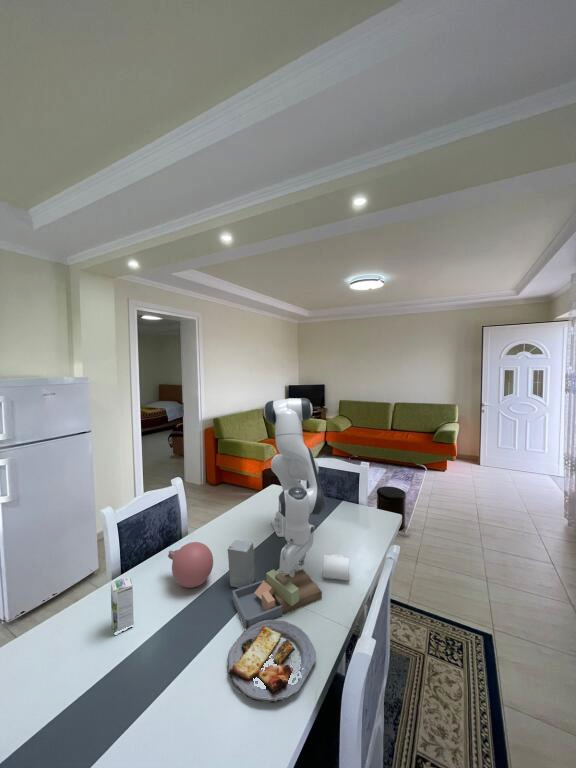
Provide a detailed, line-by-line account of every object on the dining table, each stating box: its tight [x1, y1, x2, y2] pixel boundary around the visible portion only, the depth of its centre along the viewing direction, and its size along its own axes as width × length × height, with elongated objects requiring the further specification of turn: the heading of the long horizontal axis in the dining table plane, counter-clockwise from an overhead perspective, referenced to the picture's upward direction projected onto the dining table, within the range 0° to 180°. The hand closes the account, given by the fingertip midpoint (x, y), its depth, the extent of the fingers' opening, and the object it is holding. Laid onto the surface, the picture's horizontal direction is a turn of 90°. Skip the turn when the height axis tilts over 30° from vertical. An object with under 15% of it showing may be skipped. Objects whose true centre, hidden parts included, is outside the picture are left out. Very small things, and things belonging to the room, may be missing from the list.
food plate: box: [227, 619, 317, 703], centre depth 91 cm, size 25×23×4 cm
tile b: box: [262, 591, 275, 611], centre depth 109 cm, size 5×5×2 cm
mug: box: [322, 553, 350, 582], centre depth 128 cm, size 12×10×8 cm
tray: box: [231, 579, 283, 629], centre depth 110 cm, size 15×13×4 cm
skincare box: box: [227, 539, 257, 589], centre depth 122 cm, size 8×7×16 cm
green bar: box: [265, 568, 299, 606], centre depth 114 cm, size 14×4×6 cm, turn 42°
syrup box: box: [110, 576, 135, 634], centre depth 103 cm, size 6×6×14 cm
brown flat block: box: [272, 568, 323, 616], centre depth 117 cm, size 14×16×3 cm
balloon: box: [167, 541, 214, 589], centre depth 124 cm, size 15×20×15 cm
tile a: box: [254, 580, 275, 601], centre depth 114 cm, size 5×5×2 cm
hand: (297, 570), depth 117 cm, fingers open, 6 cm apart
